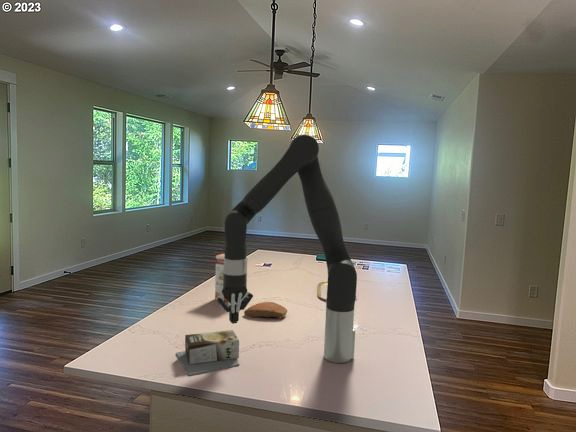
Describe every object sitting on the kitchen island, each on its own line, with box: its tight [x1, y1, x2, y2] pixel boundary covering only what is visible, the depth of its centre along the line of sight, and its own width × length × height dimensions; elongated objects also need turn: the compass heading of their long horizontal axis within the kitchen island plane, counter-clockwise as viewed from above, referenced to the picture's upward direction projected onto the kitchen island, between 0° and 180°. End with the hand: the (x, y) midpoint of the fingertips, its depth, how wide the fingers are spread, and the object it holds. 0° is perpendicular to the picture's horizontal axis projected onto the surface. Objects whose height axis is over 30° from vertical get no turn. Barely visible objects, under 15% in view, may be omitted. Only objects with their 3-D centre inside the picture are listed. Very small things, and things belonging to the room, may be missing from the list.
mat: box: [175, 350, 240, 377], centre depth 136 cm, size 16×16×1 cm
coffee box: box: [184, 329, 240, 365], centre depth 138 cm, size 9×6×16 cm
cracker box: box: [214, 253, 248, 303], centre depth 194 cm, size 14×6×21 cm, turn 62°
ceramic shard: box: [243, 301, 288, 319], centre depth 178 cm, size 15×6×15 cm
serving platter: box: [317, 280, 328, 301], centre depth 214 cm, size 19×35×2 cm, turn 176°
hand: (233, 322), depth 139 cm, fingers closed
